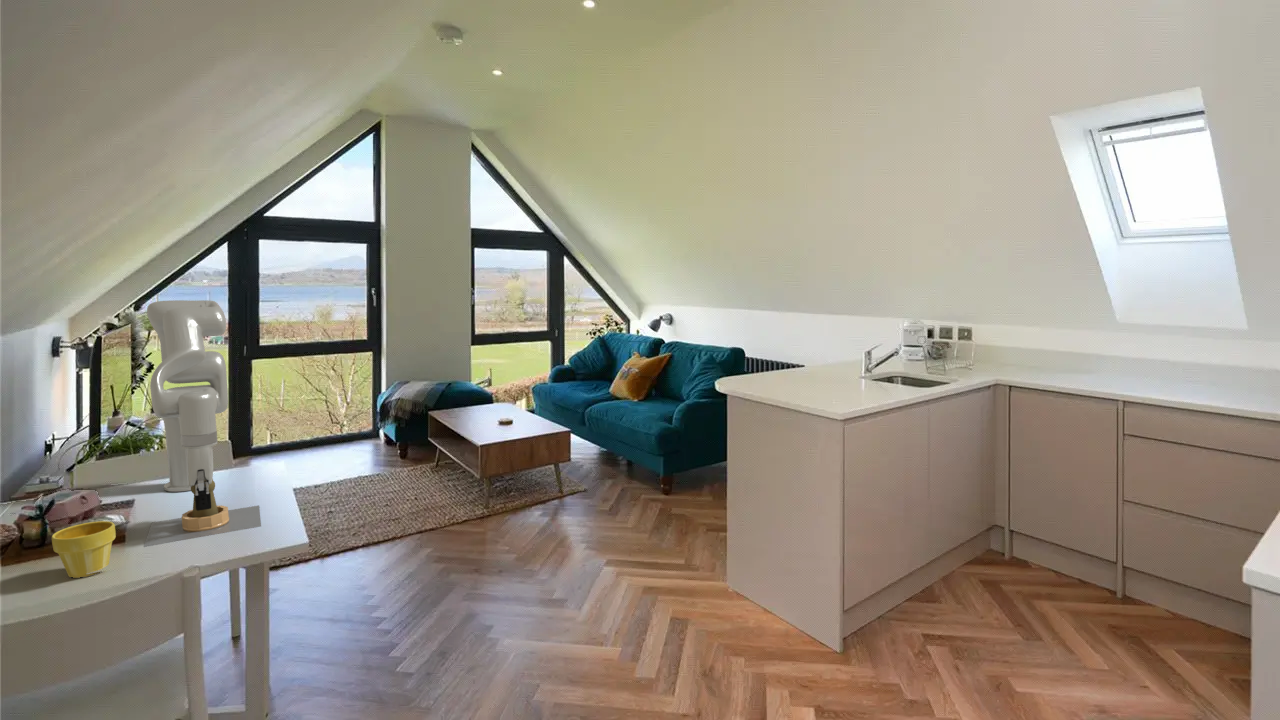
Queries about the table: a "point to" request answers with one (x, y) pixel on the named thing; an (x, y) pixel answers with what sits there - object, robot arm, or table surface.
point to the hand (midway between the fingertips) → (204, 503)
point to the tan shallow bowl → (205, 520)
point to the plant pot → (84, 547)
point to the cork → (208, 511)
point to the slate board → (174, 531)
